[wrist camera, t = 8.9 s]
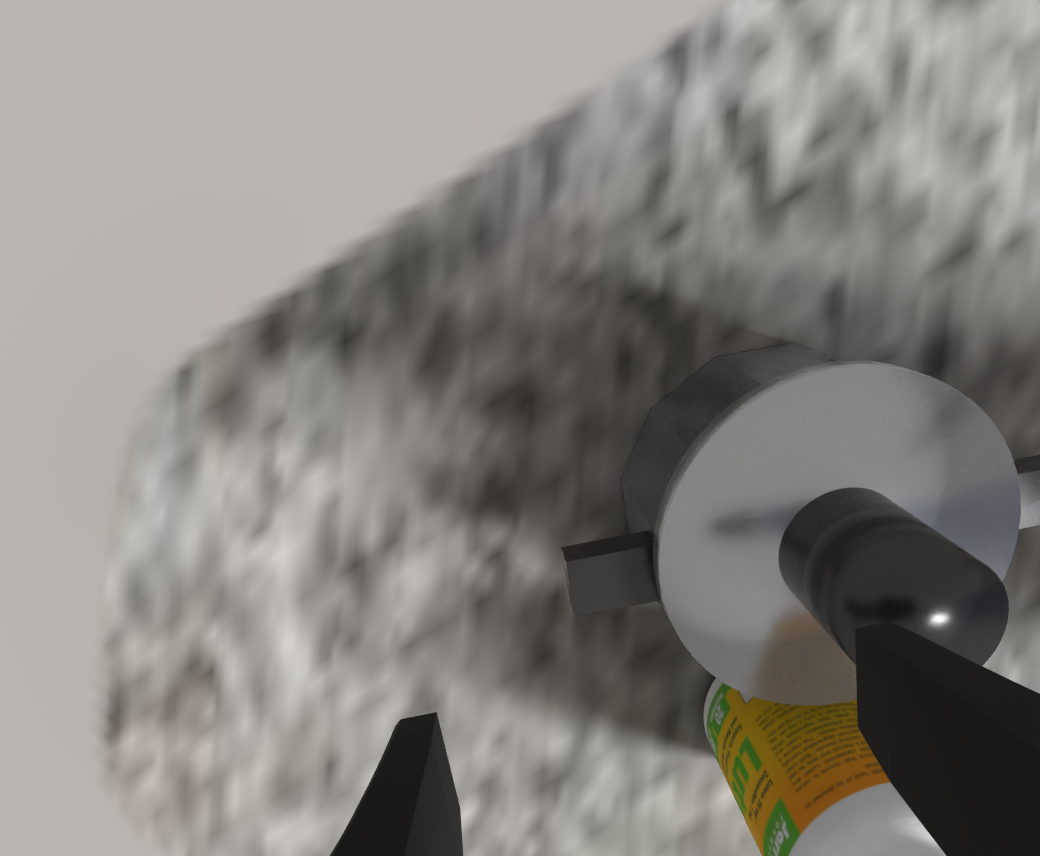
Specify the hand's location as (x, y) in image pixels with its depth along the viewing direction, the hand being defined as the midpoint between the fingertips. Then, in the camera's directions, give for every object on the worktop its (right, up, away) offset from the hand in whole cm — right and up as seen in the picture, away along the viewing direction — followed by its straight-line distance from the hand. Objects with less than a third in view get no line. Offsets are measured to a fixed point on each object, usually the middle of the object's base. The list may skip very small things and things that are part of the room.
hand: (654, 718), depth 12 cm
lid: (+5, +2, +6) cm, 8 cm away
